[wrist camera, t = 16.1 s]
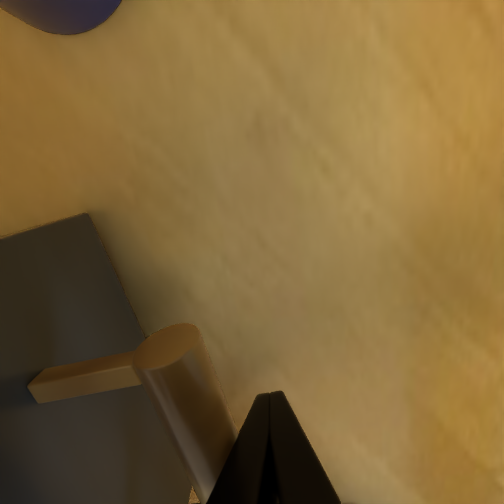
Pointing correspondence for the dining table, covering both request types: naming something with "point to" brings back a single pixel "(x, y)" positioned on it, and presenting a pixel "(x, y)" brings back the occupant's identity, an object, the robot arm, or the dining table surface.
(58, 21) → the tea tin
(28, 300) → the drawer
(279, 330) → the dining table surface
